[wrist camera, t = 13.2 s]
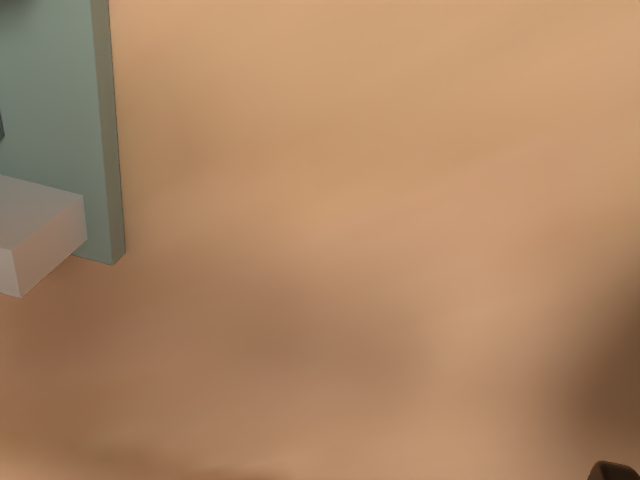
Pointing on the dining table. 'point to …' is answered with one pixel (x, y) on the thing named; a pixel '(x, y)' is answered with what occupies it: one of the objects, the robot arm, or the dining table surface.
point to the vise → (56, 140)
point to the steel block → (1, 127)
